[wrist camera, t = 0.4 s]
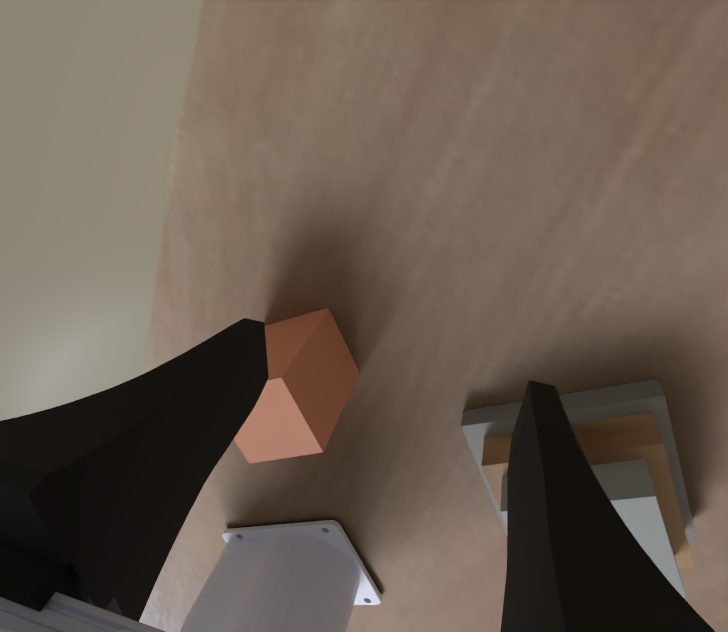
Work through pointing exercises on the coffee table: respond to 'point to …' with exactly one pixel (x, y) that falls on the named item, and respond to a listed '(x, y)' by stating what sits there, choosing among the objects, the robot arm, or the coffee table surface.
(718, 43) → the coffee table surface
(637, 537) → the tower top slab
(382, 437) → the coffee table surface
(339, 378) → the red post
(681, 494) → the tower base slab
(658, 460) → the tower middle slab
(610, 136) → the coffee table surface
